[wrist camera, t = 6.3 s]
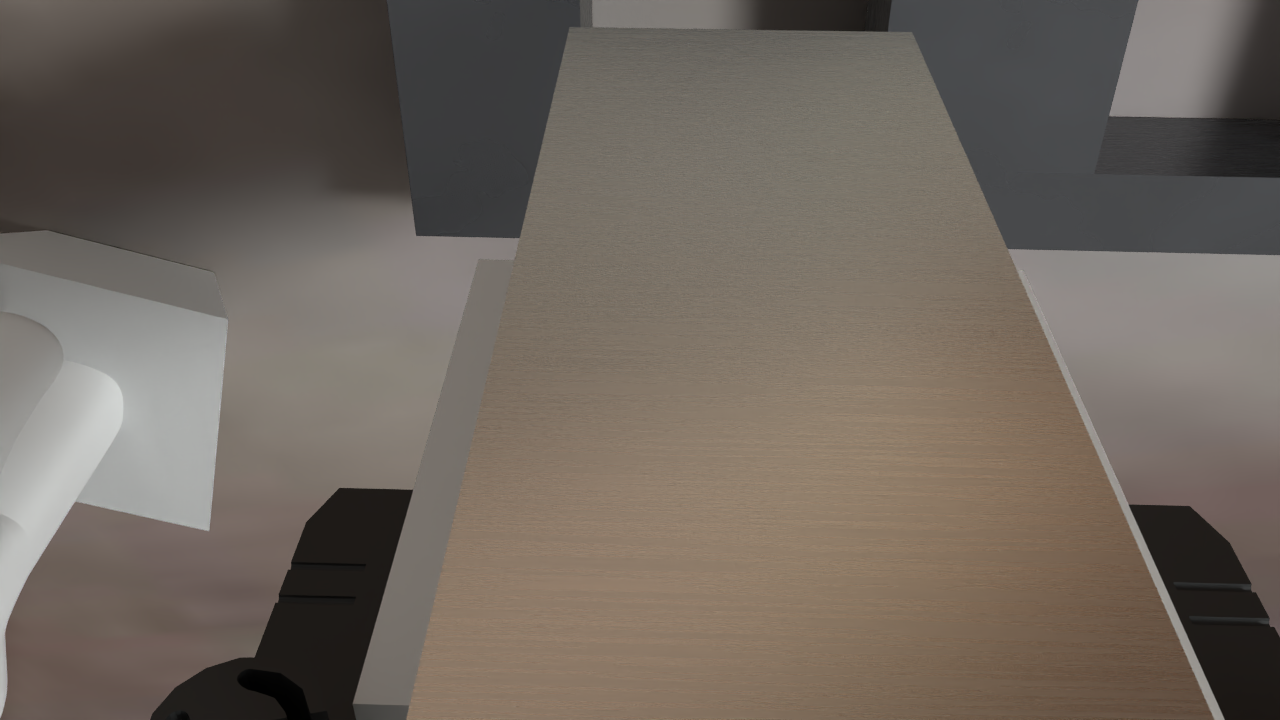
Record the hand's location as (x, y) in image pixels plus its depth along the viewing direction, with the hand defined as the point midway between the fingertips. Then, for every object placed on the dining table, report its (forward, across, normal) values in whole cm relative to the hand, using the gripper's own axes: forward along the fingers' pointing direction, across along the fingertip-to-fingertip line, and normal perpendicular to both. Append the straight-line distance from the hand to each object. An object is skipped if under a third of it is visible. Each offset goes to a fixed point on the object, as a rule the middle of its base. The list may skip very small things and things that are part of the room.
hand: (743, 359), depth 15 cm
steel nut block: (+5, 0, 0) cm, 5 cm away
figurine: (+15, +16, +9) cm, 23 cm away
